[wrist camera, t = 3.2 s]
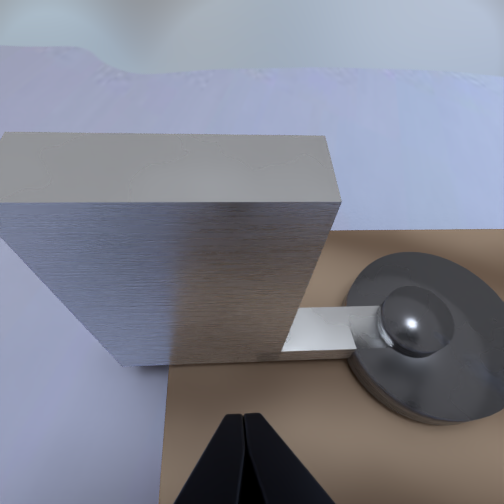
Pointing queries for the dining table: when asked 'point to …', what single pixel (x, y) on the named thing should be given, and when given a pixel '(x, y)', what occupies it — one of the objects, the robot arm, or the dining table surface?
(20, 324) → the dining table surface
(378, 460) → the walnut stand plate
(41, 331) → the dining table surface
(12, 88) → the dining table surface
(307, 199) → the lever
